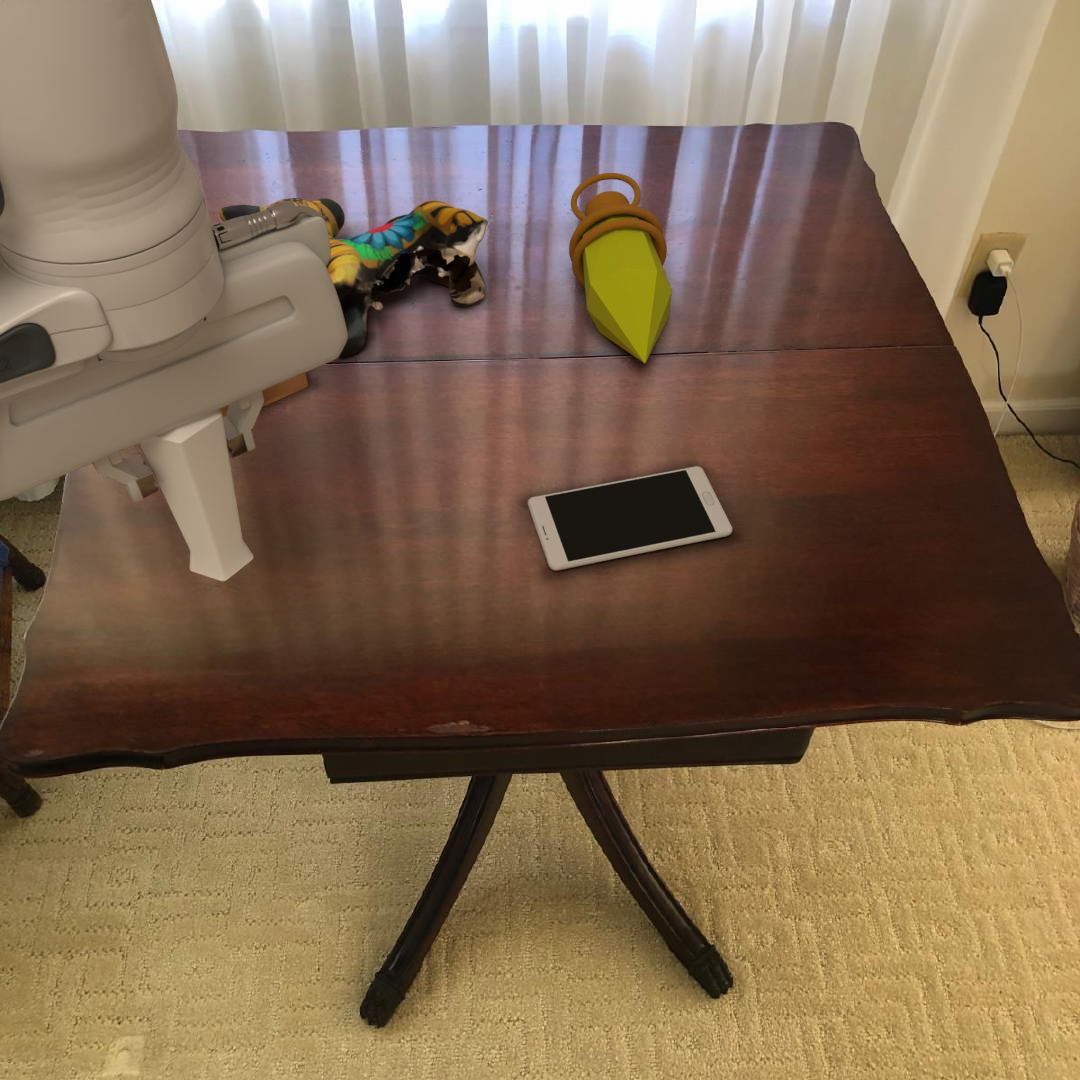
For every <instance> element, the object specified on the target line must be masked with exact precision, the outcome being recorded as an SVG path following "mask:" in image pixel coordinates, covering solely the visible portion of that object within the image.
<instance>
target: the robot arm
mask: <svg viewBox="0 0 1080 1080" xmlns="http://www.w3.org/2000/svg"><path fill="white" fill-rule="evenodd" d="M156 13H157V12H156V11H155V8H154V4H153V1H152V0H0V502H2V501H6V500H9V499H11V498H14V497H16V496H18V495H21V494H22V493H25V492H27V491H29V490H32V489H34V488H36V487H39V486H41V485H43V484H46V483H48V482H51V481H53V480H55V479H58V478H61V477H63V476H65V475H68V474H70V473H72V472H74V471H76V470H79V469H81V468H85V467H86V466H88V465H91V464H92V466H93V468H94V470H95V471H96V473H98V474H100V475H102V476H104V477H106V478H109V479H111V480H113V481H115V482H118V483H119V484H121V485H122V486H123V487H124V489H125V492H126V493H127V494H128V495H129V497H130V499H131V500H132V501H133V503H138V502H139V501H141V500H144V499H146V498H148V497H150V496H153V495H155V494H158V493H159V492H160V491H161V489H160V486H159V485H158V483H157V480H156V477H155V475H154V473H153V471H152V469H151V467H150V466H149V464H147V463H146V461H145V459H144V457H143V456H142V455H141V453H137V454H134V455H132V456H129V457H127V458H125V457H123V456H122V454H121V452H122V451H124V450H126V449H128V448H132V447H133V446H136V445H139V443H140V442H143V441H145V440H147V439H150V438H152V437H154V436H157V435H159V434H161V433H164V432H166V431H168V430H171V429H173V428H176V427H178V426H180V425H183V424H185V423H187V422H190V421H192V420H194V419H197V418H199V417H201V416H204V415H206V414H208V413H211V412H213V411H216V410H218V409H220V408H223V407H225V406H227V405H229V407H228V410H227V414H226V415H227V416H225V417H223V423H224V429H225V435H226V441H227V447H228V453H229V458H230V459H235V458H237V457H239V456H241V455H244V454H246V453H248V452H251V451H253V450H255V449H256V442H255V438H254V436H253V432H252V429H254V427H255V425H256V422H257V420H258V417H259V415H260V412H261V411H262V408H263V407H262V405H263V403H264V397H263V393H262V391H263V390H265V389H267V388H270V387H272V386H274V385H277V384H279V383H281V382H284V381H286V380H288V379H291V378H293V377H295V376H298V375H300V374H302V373H305V372H306V373H307V372H309V371H312V370H314V369H317V368H320V367H322V366H323V365H326V364H328V363H330V362H333V361H335V360H337V359H338V358H339V357H340V356H339V355H340V354H341V352H342V350H343V348H344V346H345V344H346V342H347V339H348V334H347V328H346V324H345V319H344V315H343V311H342V308H341V304H340V301H339V298H338V295H337V292H336V289H335V287H334V284H333V281H332V279H331V276H330V274H329V272H328V270H327V268H326V267H327V265H328V263H329V260H330V255H331V248H330V241H329V235H328V228H327V225H326V222H325V220H324V218H323V216H322V215H321V214H320V213H319V212H318V211H317V210H315V209H313V208H311V207H308V206H296V205H295V204H294V203H293V202H292V201H288V202H281V203H277V204H274V205H271V204H270V205H271V206H269V205H268V206H269V207H267V208H266V210H263V211H261V212H258V213H255V214H250V215H246V216H241V217H237V218H233V219H231V220H228V221H225V222H223V221H222V222H219V223H216V224H214V225H212V222H211V218H210V214H209V210H208V207H207V201H206V199H205V195H204V191H203V187H202V183H201V180H200V176H199V174H198V172H197V170H196V168H195V166H194V165H193V163H192V161H191V159H190V157H189V156H188V154H187V153H186V151H185V149H184V147H183V145H182V142H181V140H180V136H179V135H180V134H179V130H178V112H179V97H178V90H177V86H176V85H177V84H176V81H175V77H174V73H173V70H172V66H171V62H170V59H169V55H168V51H167V47H166V44H165V40H164V37H163V33H162V29H161V27H160V23H159V20H158V17H157V14H156ZM299 214H302V215H299Z"/></svg>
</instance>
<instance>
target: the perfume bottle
mask: <svg viewBox="0 0 1080 1080" xmlns="http://www.w3.org/2000/svg"><path fill="white" fill-rule="evenodd" d="M138 445H139V446H140V448H141V450H142V452H143V455H144V456H145V458H146V460H147V463H148V466H149V468H150V470H151V471H152V473H153V475H154V477H155V480H156V483H157V485H158V487H159V489H160V491H161V492H162V494H163V496H164V499H165V500H166V502H167V505H168V507H169V509H170V511H171V513H172V515H173V517H174V519H175V521H176V523H177V525H178V528H179V530H180V532H181V534H182V536H183V539H184V541H185V542H186V543H185V544H187V547H188V549H189V571H191V572H192V573H196V574H199V575H201V576H204V577H208V578H211V579H214V580H216V581H220V582H225V581H227V580H228V579H230V578H231V577H233V576H234V575H235V574H236V573H237V572H239V571H240V570H241V569H243V568H244V567H245V566H246V565H248V564H249V563H250V562H251V561H252V560H253V559H254V554H253V553H252V552H251V550H250V548H249V547H248V545H247V543H246V542H245V541H244V539H243V534H242V527H241V521H240V514H239V510H238V502H237V497H236V490H235V484H234V478H233V472H232V467H231V460H230V456H229V453H228V447H227V441H226V435H225V429H224V423H223V417H222V412H221V411H220V409H218V410H216V411H213V412H211V413H208V414H206V415H204V416H201V417H199V418H197V419H194V420H192V421H190V422H187V423H185V424H183V425H180V426H178V427H176V428H173V429H171V430H168V431H166V432H164V433H161V434H159V435H157V436H154V437H152V438H150V439H147V440H145V441H143V442H140V443H138Z"/></svg>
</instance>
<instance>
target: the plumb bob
mask: <svg viewBox="0 0 1080 1080" xmlns="http://www.w3.org/2000/svg"><path fill="white" fill-rule="evenodd" d="M607 180H608V181H609V180H614V181H615V180H616V181H621V182H624V183H626V184H628V185H629V186H630V187H631V188H632V190H633V194H634V196H633V200H632V202H631V203H630V201H629V199H628V198H627V196H626V195H625V194H623V193H622V192H620V191H615V190H607V191H601V192H600V193H597V194H596V195H594V196H592V198H590V199H589V201H588V202H587V204H586V206H585V209H584V213H583V212H581V210H580V209H579V206H578V199H579V197H580V195H581V194H582V193H583V191H584V190H586V188H588V187H589V186H591V185H594V184H596V183H599V182H601V181H607ZM641 198H642V191H641V189H640V186H639V184H638V182H637V181H636V180H635V179H633V178H632V177H631V176H629V175H627V174H623V173H618V172H604V173H600V174H599V173H598V174H596V175H594V176H591V177H589V178H586V180H584V181H582V183H580V184H579V185H578V186H577V187H576V188H575V190H574V191H573V192H572V194H571V198H570V208H571V211H572V213H573V215H575V217H576V218H577V219H578V220H579V221H580V222H579V224H578V225H577V226H576V228H575V229H574V231H573V232H572V235H571V237H570V240H569V245H568V254H569V255H568V256H569V258H570V261H571V269H572V273H573V275H574V277H575V278H576V280H577V281H578V282H579V284H580V285H581V286H582V287H584V291H585V302H586V303H585V304H586V310H587V312H588V314H589V315H590V317H591V320H592V322H593V324H594V325H595V327H596V329H597V331H598V333H599V334H601V335H602V336H604V337H605V338H607V339H608V340H610V341H611V342H613V343H614V344H615V345H617V346H618V347H620V348H621V349H623V350H624V351H626V352H627V353H629V354H630V355H632V356H633V357H635V358H636V359H638V361H640V362H642V364H646V363H647V361H648V359H649V357H650V355H651V353H652V351H653V349H654V347H655V345H656V343H657V341H658V339H659V337H660V335H661V334H662V331H663V329H664V327H665V326H666V323H667V322H668V319H669V317H670V310H671V302H672V295H673V288H672V286H671V283H670V281H669V278H668V276H667V273H666V271H665V268H664V264H665V262H666V259H667V254H668V247H667V241H666V238H665V237H664V232H663V227H662V225H661V223H660V221H659V220H658V218H657V217H656V216H655V215H654V214H653V213H651V212H650V211H649V210H647V209H645V208H643V207H641V206H639V204H640V202H641Z"/></svg>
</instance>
